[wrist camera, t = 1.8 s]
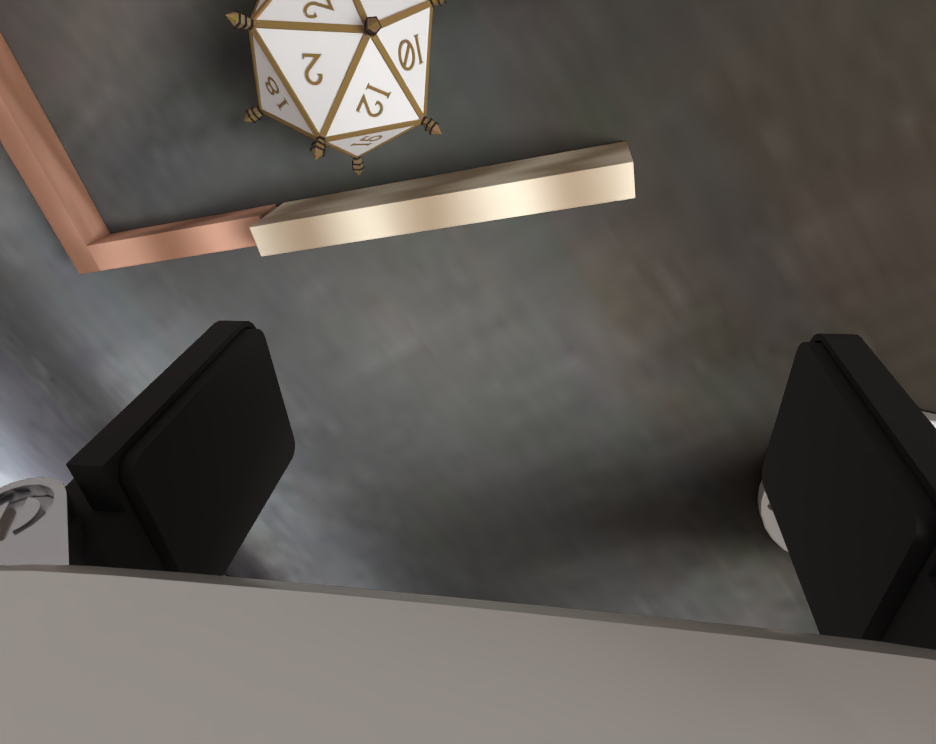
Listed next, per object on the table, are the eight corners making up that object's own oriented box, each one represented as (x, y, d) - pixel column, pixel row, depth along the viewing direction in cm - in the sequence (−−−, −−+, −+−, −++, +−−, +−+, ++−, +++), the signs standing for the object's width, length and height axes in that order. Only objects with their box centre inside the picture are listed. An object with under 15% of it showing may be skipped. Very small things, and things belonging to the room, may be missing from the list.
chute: (600, -261, 20) (605, -310, 17) (628, 173, 28) (635, 197, 25) (-63, -33, 28) (-150, -36, 24) (102, 260, 35) (53, 288, 32)
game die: (354, 37, 30) (150, -47, 22) (482, -60, 24) (271, -215, 17) (383, 209, 30) (191, 185, 22) (516, 152, 25) (322, 94, 17)
